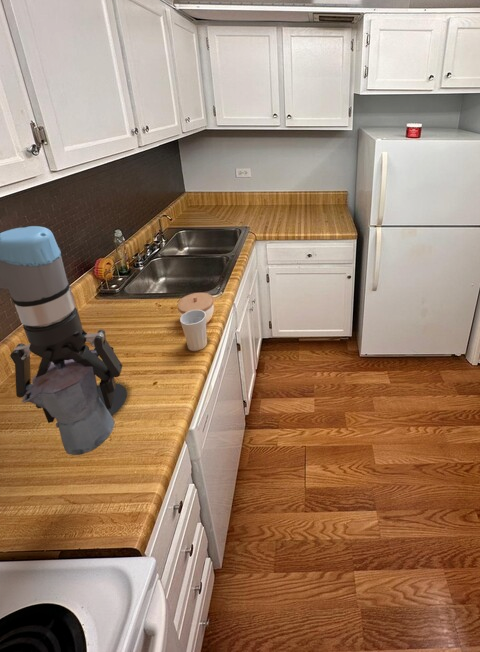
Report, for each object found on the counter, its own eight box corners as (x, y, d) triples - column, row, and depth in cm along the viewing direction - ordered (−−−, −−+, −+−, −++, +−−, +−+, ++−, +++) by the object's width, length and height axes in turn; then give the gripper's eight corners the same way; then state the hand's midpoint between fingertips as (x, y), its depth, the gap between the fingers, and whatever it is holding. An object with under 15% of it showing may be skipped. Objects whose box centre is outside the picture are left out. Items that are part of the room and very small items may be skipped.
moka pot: (34, 457, 63) (0, 376, 55) (109, 396, 76) (90, 324, 69) (67, 479, 59) (36, 395, 52) (140, 410, 73) (123, 336, 65)
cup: (190, 337, 116) (186, 309, 112) (213, 338, 116) (209, 310, 112) (181, 354, 109) (175, 324, 105) (205, 354, 109) (200, 324, 104)
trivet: (59, 437, 82) (58, 434, 82) (76, 393, 95) (75, 390, 94) (122, 420, 87) (122, 417, 86) (131, 380, 99) (130, 377, 99)
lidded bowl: (208, 308, 133) (205, 284, 129) (221, 323, 124) (218, 298, 120) (176, 320, 126) (171, 295, 122) (187, 337, 116) (183, 311, 112)
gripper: (125, 293, 64) (146, 382, 72) (-16, 313, 57) (25, 408, 65) (116, 316, 57) (140, 411, 65) (-45, 341, 51) (5, 443, 59)
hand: (82, 409), depth 65 cm, fingers closed on moka pot, 9 cm apart
